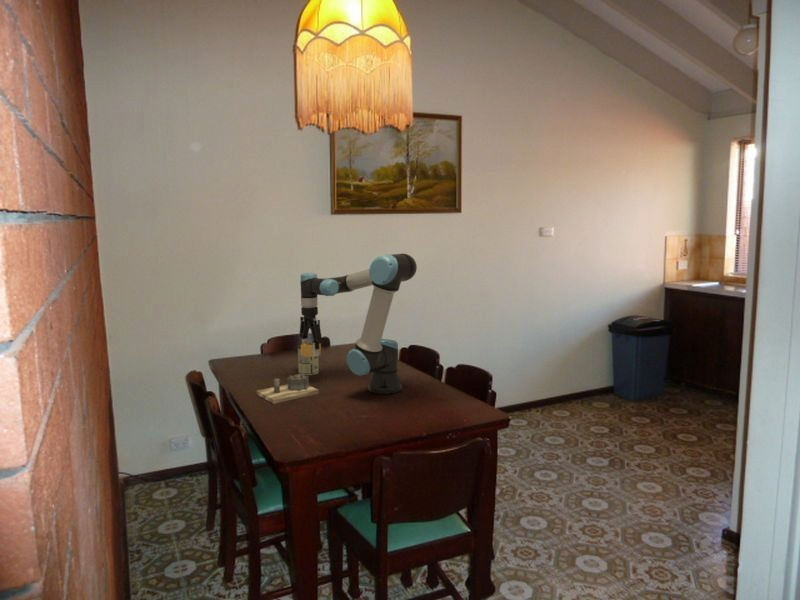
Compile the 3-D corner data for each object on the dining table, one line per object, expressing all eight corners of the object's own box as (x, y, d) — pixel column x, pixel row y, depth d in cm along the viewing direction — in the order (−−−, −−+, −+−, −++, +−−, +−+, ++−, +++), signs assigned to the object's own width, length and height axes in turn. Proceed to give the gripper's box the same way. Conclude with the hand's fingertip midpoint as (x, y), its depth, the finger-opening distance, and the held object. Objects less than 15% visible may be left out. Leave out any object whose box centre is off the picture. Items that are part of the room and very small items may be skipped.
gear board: (318, 393, 256) (318, 376, 255) (273, 403, 242) (273, 385, 241) (300, 385, 268) (300, 369, 267) (256, 394, 255) (256, 377, 254)
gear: (324, 355, 270) (324, 344, 269) (307, 357, 265) (307, 347, 264) (314, 351, 277) (314, 341, 276) (297, 354, 272) (297, 344, 271)
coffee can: (301, 369, 296) (300, 342, 294) (321, 370, 295) (320, 343, 293) (295, 375, 286) (295, 347, 284) (316, 375, 285) (315, 347, 283)
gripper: (329, 308, 262) (330, 357, 265) (304, 303, 278) (306, 349, 281) (314, 310, 257) (316, 359, 260) (290, 304, 274) (292, 351, 277)
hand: (310, 354), depth 271 cm, fingers closed on gear, 9 cm apart
